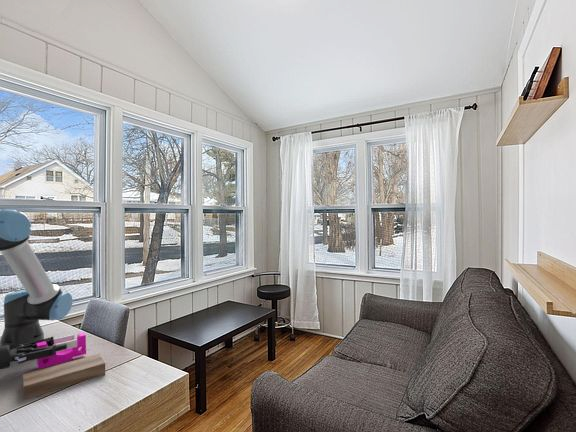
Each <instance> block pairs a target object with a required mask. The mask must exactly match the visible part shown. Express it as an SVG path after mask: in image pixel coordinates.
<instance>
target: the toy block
mask: <svg viewBox="0 0 576 432" xmlns="http://www.w3.org/2000/svg"><path fill="white" fill-rule="evenodd" d="M86 336H87V335H86V333H85V332H80V333H78V334H77V337H76V339H77V347H74V348H70V349H66V350H62V351H58V352H56V355H52V356H48V357H43V358H39V359H36V363H37V370H40V369H44V368H48V367H51V366H55V365H59V364H63V363H67V362H70V361H74V358H76V357H80V356H83V355H86V354H87V337H86ZM41 347H48V345H47V344H46V341H44V342H39V343H37V348H41Z"/></svg>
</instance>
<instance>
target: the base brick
mask: <svg viewBox="0 0 576 432" xmlns="http://www.w3.org/2000/svg"><path fill="white" fill-rule="evenodd" d="M105 375H106V362H105V361H104V359H103V357H102V356H101V355H100V353H97V354H94V355H91V356H90V355H89V356H86V357H83V358H79V359H73V360H71V361H67V362H63V363H60V364H56V365H52V366H48V367H45V368H41V369H37V370H33V371H29V372H25V373H22V390H23V400H26V399H30V398H33V397H36V396H39V395H43V394H45V393H46V394H47V393H49V392H52V391H55V390H59V389H63V388H66V387H68V386H72V385H75V384H79V383H81V382H82V383H83V382H85V381H88V380H91V379H96V378H98V377H102V376H105Z"/></svg>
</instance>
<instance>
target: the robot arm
mask: <svg viewBox="0 0 576 432" xmlns="http://www.w3.org/2000/svg"><path fill="white" fill-rule="evenodd" d="M31 228H32V223H31V220H30V218H29V217H28V215H26V214H25V213H24V212H21V211H19V210H16V209H9V208H2V209H1V208H0V253H1V254H2V256H3V257H4V259H5V260H6V261H7V264H8V265H9V267H10V268H11V270H12V271H13V273H14V274H15V276H16V277H17V279H18V280H19V282H20V283H21V286H23V288H24V289H21V290H18V291H14V292H13V291H12V292H10V293H7V294H6V295H5V296H4V301H3V319H4V328H3V332H2V334H1V336H0V371H1V370H5V369H9V368H10V366H11V362H13V363H14V362H18V364H19V365H21V364H24V363H26V362H30V361H35V360H37V359H39V358H43V357H48V356H52V355H56V352H58V351H62V350H66V349H70V348H74V347H77V338H75V334H69V335H65V336H61V337H55V338H54V336H50V337H47V338H45V333H44V330H43V328H42V326H41V324H40V321H57V320H58V321H59V320H63V319H64V318H66V316H68V314H69V313H70V311H71V310H72V306H73V303H74V301H73V300H74V299H73V295H72V294H71V293H69V292H67V291H64V292H63V291H62V289H61V288H60V286H59V285H58V284H55V283H53V282H52V280H51V279H50V277H49V275H48V274H47V272H46V271H45V269H44V267H43V265H42V263H41V262H40V260H39V258H38V257H37V255H36V254H35V252H34V250H33V248H32V246H31V245H30V243H29V240H30V237H31V236H30V234H31V233H32V229H31ZM44 341H46V344H47V345H48V347H41V348H37V343H39V342H44Z"/></svg>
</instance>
